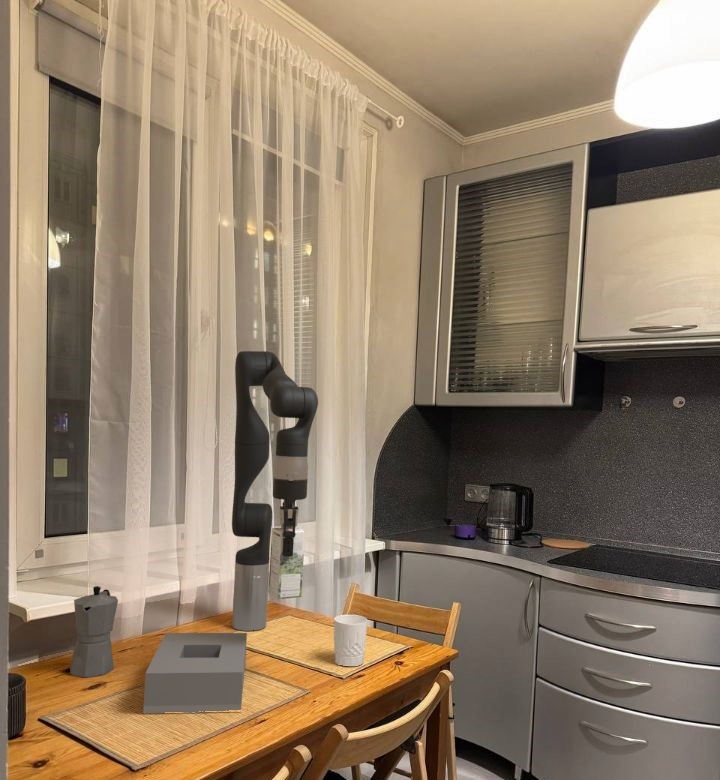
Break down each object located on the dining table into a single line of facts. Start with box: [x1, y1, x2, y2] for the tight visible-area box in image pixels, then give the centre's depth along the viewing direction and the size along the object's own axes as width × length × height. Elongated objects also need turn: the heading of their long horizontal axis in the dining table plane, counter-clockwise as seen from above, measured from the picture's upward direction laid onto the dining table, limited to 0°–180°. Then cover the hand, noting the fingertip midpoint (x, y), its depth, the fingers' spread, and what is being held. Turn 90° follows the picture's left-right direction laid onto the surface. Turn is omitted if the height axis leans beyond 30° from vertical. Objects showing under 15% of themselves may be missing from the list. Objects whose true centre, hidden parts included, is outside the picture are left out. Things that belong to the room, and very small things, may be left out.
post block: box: [142, 632, 248, 714], centre depth 135 cm, size 24×18×8 cm
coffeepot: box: [69, 585, 119, 678], centre depth 144 cm, size 15×9×18 cm, turn 5°
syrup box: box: [268, 527, 306, 600], centre depth 143 cm, size 6×6×14 cm
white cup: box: [333, 614, 368, 667], centre depth 154 cm, size 8×8×10 cm
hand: (287, 552), depth 143 cm, fingers closed on syrup box, 7 cm apart
